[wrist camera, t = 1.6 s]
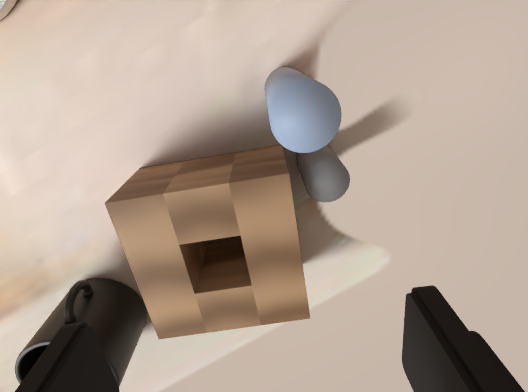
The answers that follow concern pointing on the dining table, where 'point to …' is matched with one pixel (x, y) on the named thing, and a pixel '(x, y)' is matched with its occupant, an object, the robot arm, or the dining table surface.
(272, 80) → the tall pin
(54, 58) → the dining table surface
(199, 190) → the hole block
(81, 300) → the mug
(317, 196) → the short pin
